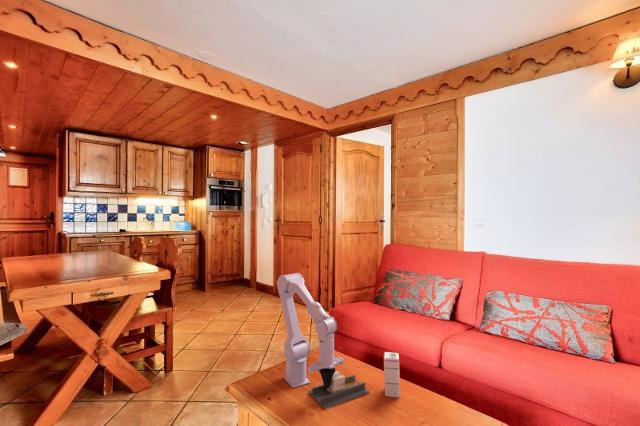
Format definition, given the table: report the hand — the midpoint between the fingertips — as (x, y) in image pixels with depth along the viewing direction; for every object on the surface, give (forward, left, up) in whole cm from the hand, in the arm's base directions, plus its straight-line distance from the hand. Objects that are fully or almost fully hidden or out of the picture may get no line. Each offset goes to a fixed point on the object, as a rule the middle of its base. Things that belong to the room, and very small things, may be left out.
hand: (326, 386), depth 119 cm
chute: (0, +5, -4) cm, 7 cm away
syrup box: (+10, +23, -4) cm, 26 cm away
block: (0, +4, -3) cm, 5 cm away
